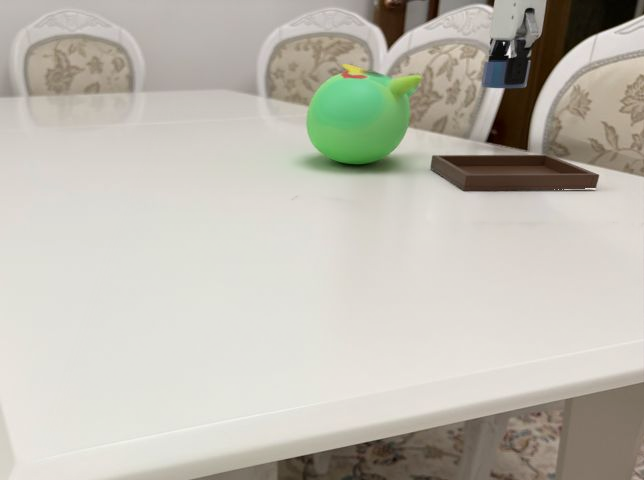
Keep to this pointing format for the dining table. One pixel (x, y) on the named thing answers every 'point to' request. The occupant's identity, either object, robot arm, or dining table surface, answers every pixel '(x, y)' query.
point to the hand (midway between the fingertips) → (504, 81)
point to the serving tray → (512, 172)
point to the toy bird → (360, 115)
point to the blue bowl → (499, 75)
